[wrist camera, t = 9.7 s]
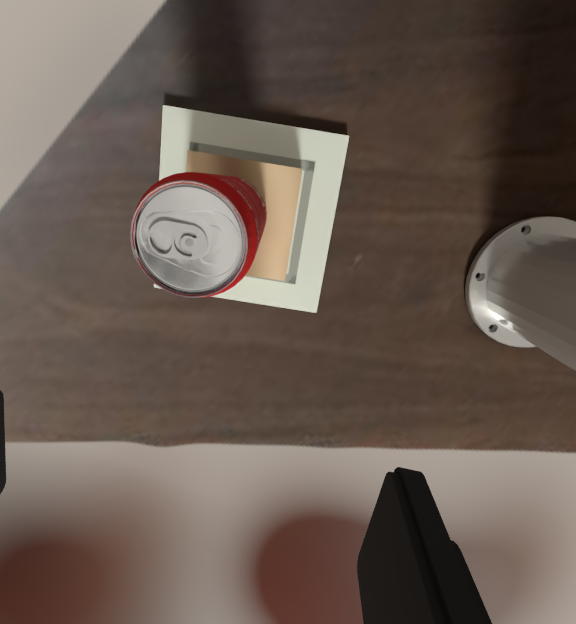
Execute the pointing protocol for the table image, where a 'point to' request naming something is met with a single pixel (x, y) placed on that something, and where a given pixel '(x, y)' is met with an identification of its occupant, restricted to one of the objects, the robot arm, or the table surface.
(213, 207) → the beverage can
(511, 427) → the table surface
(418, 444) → the table surface
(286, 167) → the oak block
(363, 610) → the robot arm
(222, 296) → the board
